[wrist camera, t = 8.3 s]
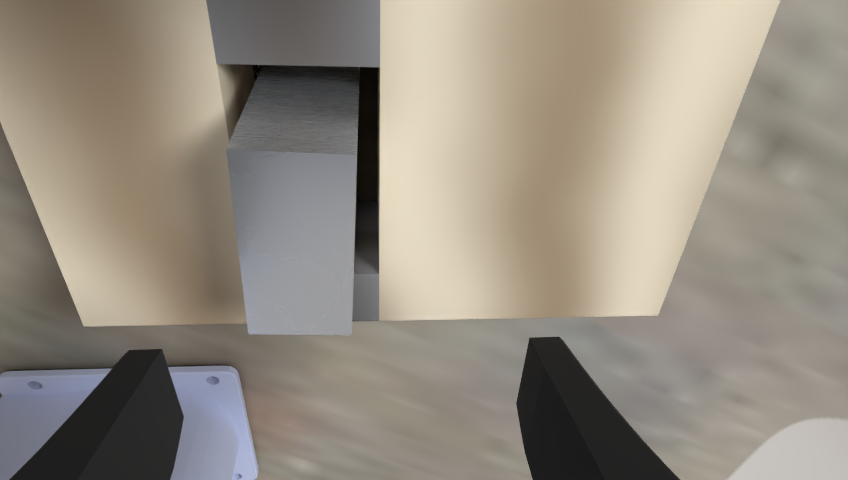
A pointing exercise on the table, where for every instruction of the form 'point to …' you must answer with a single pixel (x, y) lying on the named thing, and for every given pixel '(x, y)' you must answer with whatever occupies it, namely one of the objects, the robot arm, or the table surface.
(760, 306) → the table surface
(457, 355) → the table surface
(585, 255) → the light wood flat block
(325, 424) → the table surface
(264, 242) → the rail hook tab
